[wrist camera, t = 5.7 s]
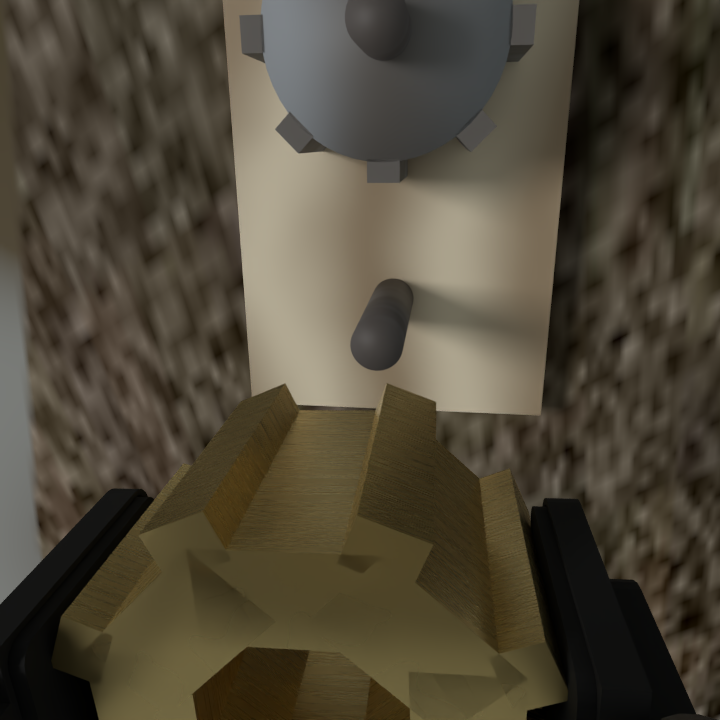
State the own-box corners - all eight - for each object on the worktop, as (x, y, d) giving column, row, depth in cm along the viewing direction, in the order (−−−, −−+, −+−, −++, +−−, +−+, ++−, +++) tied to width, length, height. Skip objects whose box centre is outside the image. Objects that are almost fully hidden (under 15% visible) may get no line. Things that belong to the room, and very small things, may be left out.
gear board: (582, -105, 20) (648, -227, 14) (536, 403, 26) (567, 494, 20) (227, -84, 22) (129, -183, 15) (260, 392, 28) (200, 472, 21)
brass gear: (534, 383, 10) (586, 521, 7) (519, 692, 12) (553, 930, 9) (152, 383, 11) (6, 506, 7) (201, 672, 13) (107, 881, 10)
